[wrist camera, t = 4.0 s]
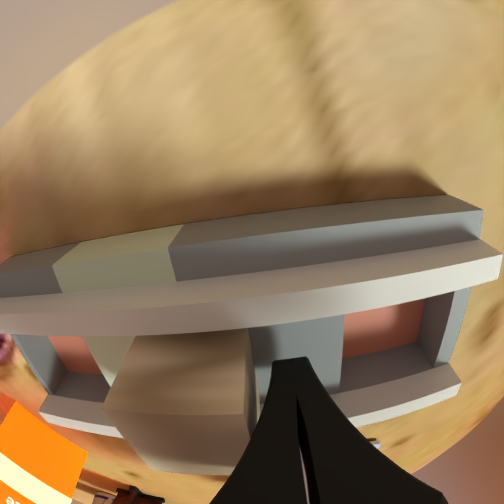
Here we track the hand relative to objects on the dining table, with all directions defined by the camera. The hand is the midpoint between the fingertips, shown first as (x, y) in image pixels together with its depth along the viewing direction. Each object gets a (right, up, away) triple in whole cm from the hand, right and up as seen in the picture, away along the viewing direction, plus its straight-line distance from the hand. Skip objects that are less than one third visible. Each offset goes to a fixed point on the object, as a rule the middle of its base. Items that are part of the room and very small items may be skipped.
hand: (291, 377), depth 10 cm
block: (-3, 0, +1) cm, 3 cm away
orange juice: (-23, -15, +10) cm, 29 cm away
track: (-3, +1, +4) cm, 5 cm away
